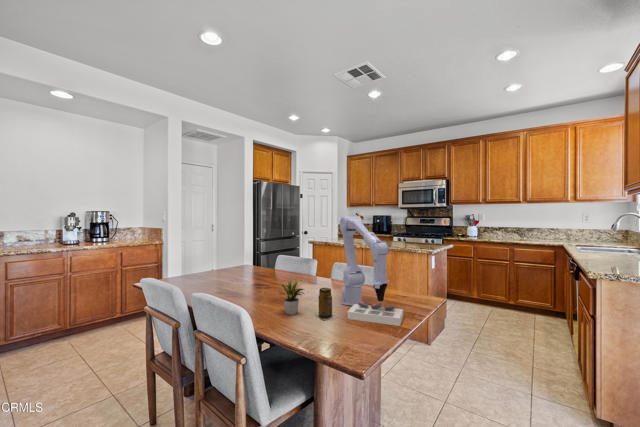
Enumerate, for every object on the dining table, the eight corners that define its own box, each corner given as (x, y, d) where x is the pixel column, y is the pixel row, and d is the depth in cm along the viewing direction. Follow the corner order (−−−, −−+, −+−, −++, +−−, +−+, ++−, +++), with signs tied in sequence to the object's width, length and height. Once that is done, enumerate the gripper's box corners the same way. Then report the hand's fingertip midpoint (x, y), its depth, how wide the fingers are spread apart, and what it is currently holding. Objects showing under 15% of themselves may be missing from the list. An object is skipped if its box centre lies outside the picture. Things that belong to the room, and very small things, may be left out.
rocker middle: (371, 309, 127) (371, 306, 127) (373, 307, 129) (372, 304, 129) (380, 308, 125) (379, 305, 125) (381, 306, 128) (381, 303, 128)
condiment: (328, 312, 134) (328, 286, 133) (337, 317, 126) (337, 290, 126) (314, 314, 130) (314, 288, 130) (323, 320, 123) (322, 292, 123)
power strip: (347, 319, 124) (347, 311, 124) (357, 308, 138) (356, 300, 138) (399, 326, 116) (399, 317, 116) (404, 313, 130) (404, 306, 130)
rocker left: (358, 306, 129) (358, 302, 129) (359, 304, 132) (360, 301, 132) (366, 308, 128) (367, 305, 127) (368, 306, 130) (368, 303, 130)
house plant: (278, 321, 123) (277, 283, 123) (270, 311, 136) (269, 276, 135) (309, 316, 129) (308, 279, 128) (299, 306, 141) (298, 273, 141)
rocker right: (385, 311, 124) (384, 307, 124) (386, 309, 127) (385, 305, 127) (394, 310, 123) (393, 306, 123) (395, 308, 125) (394, 304, 126)
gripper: (386, 273, 118) (386, 306, 118) (392, 267, 132) (392, 297, 132) (369, 272, 121) (370, 305, 121) (376, 266, 134) (377, 295, 134)
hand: (380, 300), depth 127 cm, fingers closed
